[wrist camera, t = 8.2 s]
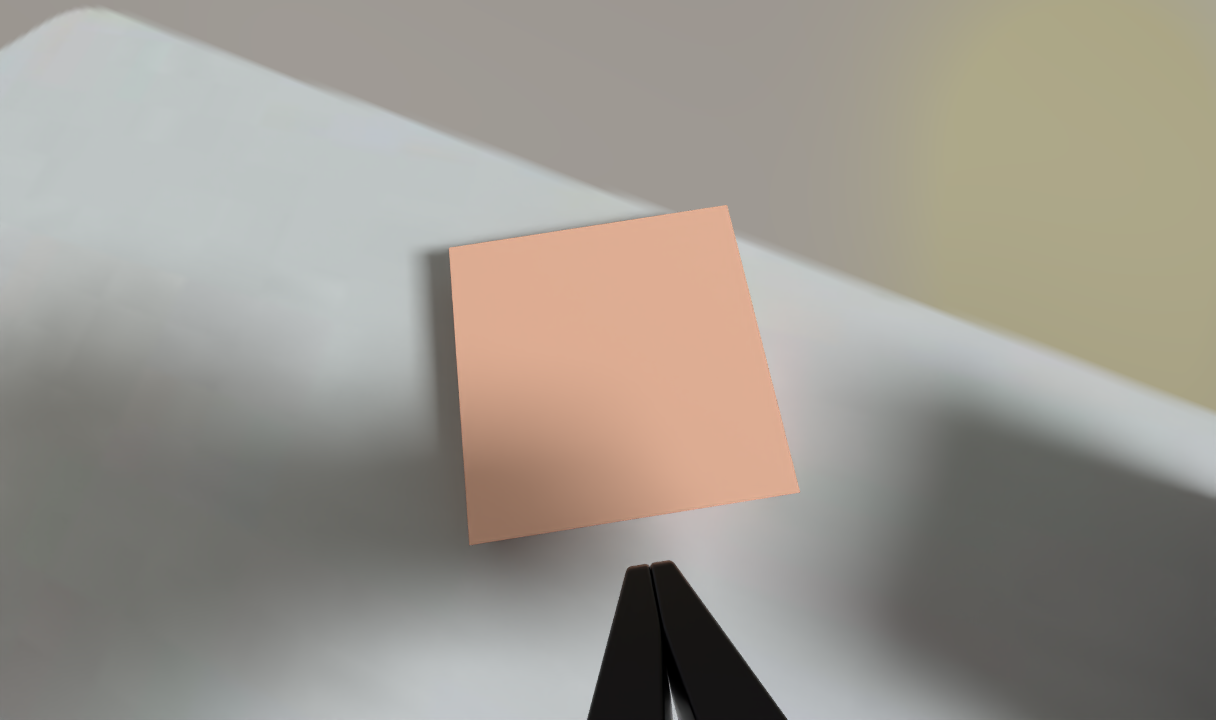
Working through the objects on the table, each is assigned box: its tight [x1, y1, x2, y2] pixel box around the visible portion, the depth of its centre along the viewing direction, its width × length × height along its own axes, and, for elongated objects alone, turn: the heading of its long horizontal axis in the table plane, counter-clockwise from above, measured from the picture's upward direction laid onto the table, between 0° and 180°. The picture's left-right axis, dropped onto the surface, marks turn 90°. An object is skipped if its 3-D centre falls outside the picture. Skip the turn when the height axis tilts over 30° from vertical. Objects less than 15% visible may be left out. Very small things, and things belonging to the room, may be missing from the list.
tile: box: [449, 205, 800, 545], centre depth 17 cm, size 2×10×10 cm
